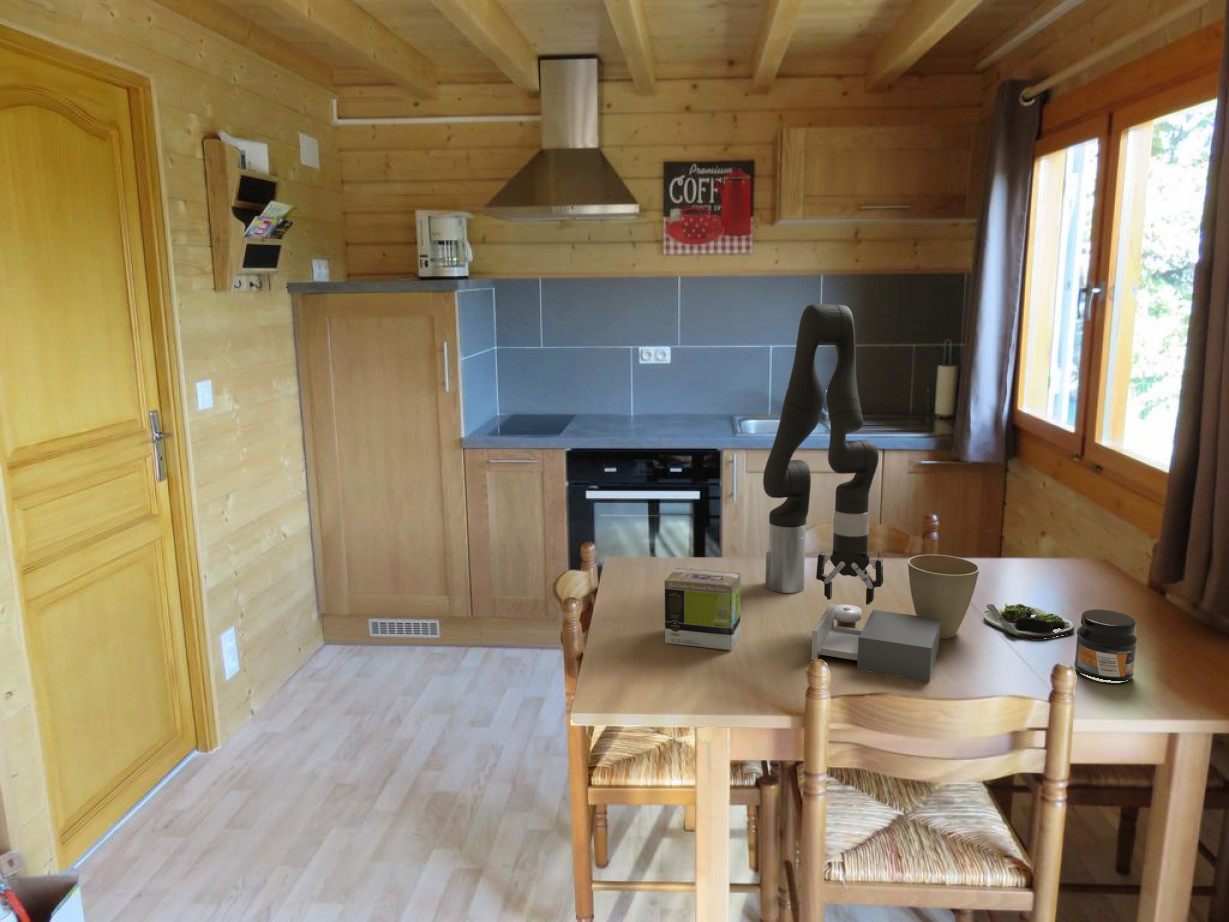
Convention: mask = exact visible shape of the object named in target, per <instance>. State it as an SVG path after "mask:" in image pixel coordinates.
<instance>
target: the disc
mask: <svg viewBox="0 0 1229 922" xmlns="http://www.w3.org/2000/svg"><path fill="white" fill-rule="evenodd" d="M862 613H863V611H862V609H861V607H858V606H856V605H852V604H835V606H834V621H837V620H838V621H842V622H856V623H857V622H859V621H861V620H862V616H863V615H862Z"/></svg>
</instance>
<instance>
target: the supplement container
mask: <svg viewBox="0 0 1229 922" xmlns="http://www.w3.org/2000/svg"><path fill="white" fill-rule="evenodd" d="M1080 623H1081V625H1079V627H1078V628H1077V630H1076V635H1077V637H1076V645H1075V646H1076V647H1075V655H1074V656H1075V657H1074V663H1073V664H1074V665H1073V666H1074V669H1075V668H1076V669H1075V671H1076V670H1077V671H1079V672H1080V673H1082V674H1085V675H1088V676H1091V677H1095V678H1099V679H1103V680H1111V681H1126V680H1129V679H1131V678H1132V679H1133V677H1134V675H1135V673H1134V672H1135V671H1134V670H1135V669H1134V668H1135V659H1136V651H1137V650H1136V649H1137V644H1138V636H1137V634H1136V630H1137V621H1136V619H1135V618H1133V617H1132V616H1130V615H1128V614H1125V613H1123V612H1119V611H1115V610H1109V609H1099V608H1096V609H1087V610H1085V611H1083V612H1082V613H1081V617H1080ZM1077 671H1076V672H1077ZM1132 679H1131V680H1132ZM1129 681H1130V680H1129Z"/></svg>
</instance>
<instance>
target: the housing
mask: <svg viewBox="0 0 1229 922" xmlns="http://www.w3.org/2000/svg"><path fill="white" fill-rule="evenodd" d="M866 620H867V621H866V622H865V623H864V626H863V628H862V631H861V633H860V635H859V638H858V660H856V661H857V665H856V670H857V669H858V670H859V671H862V670H863V671H862V672H868V671H870V672H869V673H874V672H876V674H880V673H882V674H881V675H886V674H888V676H892V675H894V677H899V678H904V677H905V679H911V680H918V681H922V680H924V682H928V681H929V682H931V681H930V680H931V679H932V675H933V671H934V668H935V664H936V660H937V657H938V654H939V651H940V639H941V638H940V622H941V619H937V618H929V617H922V616H916V614H915V615H913V614H907V613H901V612H900V613H899V612H892V611H891V612H890V611H885V610H879V609H872V610H871V613H870V614H869V617H868V618H867V619H866ZM858 670H857V671H858Z"/></svg>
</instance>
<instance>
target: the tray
mask: <svg viewBox="0 0 1229 922" xmlns="http://www.w3.org/2000/svg"><path fill="white" fill-rule="evenodd" d="M834 606H836V604H832V603H831V604H829V605H828V606H827V608H826V610H825V611H824V613H823V614H822V616H821V617H820V618H819V620H818V622H817V623H816V624H815V626H814V627H813V629H812V632H811V633H812V635H811V640H812V641H811V661H814V660H813V659H816V658H818V659H819V657H820V656H821V655H822V656H829V657H833V658H834V657H835V658H841V659H847V660H851V661H853V660H854V661H857V660H858V638H859V635H860V633H861V631H862V630H863V628H861V629H860V628H856V627H855V628H848V627H841V626H837V625H835V619H834Z"/></svg>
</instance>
